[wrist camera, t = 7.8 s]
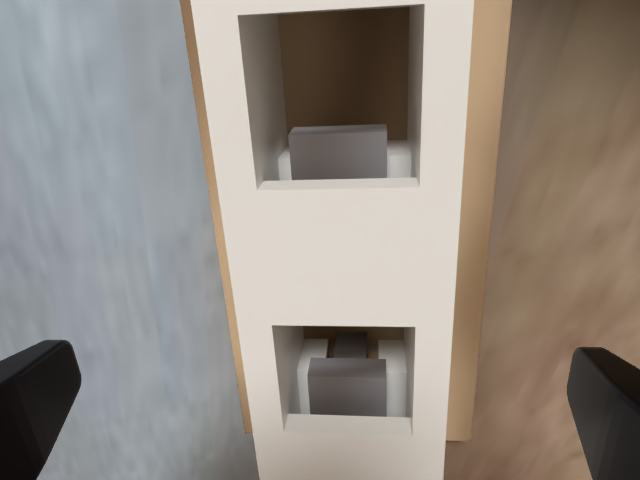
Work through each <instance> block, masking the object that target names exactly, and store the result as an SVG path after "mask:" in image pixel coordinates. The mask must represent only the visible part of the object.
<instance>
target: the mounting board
mask: <svg viewBox="0 0 640 480" xmlns="http://www.w3.org/2000/svg"><path fill="white" fill-rule="evenodd" d="M180 4H181V11H182V18H183V24H184V31H185V38H186V44H187V51H188V57H189V64H190V71H191V77H192V84H193V91H194V97H195V104H196V110H197V117H198V124H199V130H200V137H201V143H202V150H203V157H204V163H205V170H206V177H207V183H208V190H209V196H210V203H211V210H212V216H213V223H214V230H215V236H216V243H217V249H218V256H219V263H220V269H221V276H222V283H223V289H224V296H225V302H226V309H227V316H228V322H229V329H230V335H231V342H232V349H233V355H234V362H235V369H236V375H237V382H238V388H239V395H240V402H241V408H242V415H243V422H244V428H245V433H253V430H252V423H251V416H250V410H249V403H248V396H247V389H246V382H245V375H244V368H243V361H242V354H241V347H240V340H239V333H238V326H237V320H236V313H235V306H234V299H233V292H232V285H231V278H230V271H229V264H228V257H227V250H226V243H225V236H224V230H223V223H222V216H221V209H220V202H219V195H218V188H217V181H216V174H215V167H214V160H213V153H212V146H211V139H210V133H209V126H208V119H207V112H206V105H205V98H204V91H203V84H202V77H201V70H200V63H199V56H198V49H197V43H196V36H195V29H194V22H193V15H192V8H191V1H190V0H180ZM511 8H512V0H474V11H473V26H472V42H471V57H470V73H469V88H468V103H467V119H466V134H465V150H464V165H463V180H462V196H461V211H460V226H459V242H458V257H457V273H456V288H455V303H454V319H453V334H452V350H451V365H450V380H449V396H448V411H447V426H446V441H471V433H472V422H473V412H474V401H475V390H476V380H477V369H478V359H479V348H480V337H481V327H482V316H483V306H484V295H485V284H486V274H487V263H488V252H489V242H490V231H491V221H492V210H493V199H494V189H495V178H496V168H497V157H498V146H499V136H500V125H501V115H502V104H503V93H504V83H505V72H506V62H507V51H508V40H509V30H510V19H511ZM409 9H410V7H399V8H383V9H366V10H349V11H333V12H316V13H300V14H283V15H278V22H279V35H280V47H281V59H282V72H283V84H284V97H285V109H286V121H287V134H288V143H289V152H290V164H291V177H292V180H323V179H368V178H387V140H407V124H408V67H409ZM303 332H304V339H329V356H330V358H311V359H310V364H309V370H308V375H307V380H308V392H309V405H310V414H312V415H344V416H376V417H387V376H386V359H379V353H378V340H404V327H377V326H303Z"/></svg>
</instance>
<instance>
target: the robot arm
mask: <svg viewBox="0 0 640 480" xmlns="http://www.w3.org/2000/svg"><path fill="white" fill-rule="evenodd" d="M80 386H81V373H80V370H79V366H78V363H77V360H76V357H75V353H74V350H73V347H72V345H71V344H70V342H68V341H66V340H45V341H42V342H40V343H38V344H36V345H33V346H31V347H29V348H27V349H25V350H23V351H21V352H19V353H16V354H14V355H12V356H10V357H8V358H6V359H4V360H2V361H0V480H36V479H37V477H38V476H39V474H40V472H41V470H42V468H43V466H44V465H45V463H46V461H47V459H48V457H49V455H50V453H51V451H52V448H53V446H54V444H55V442H56V440H57V437H58V435H59V433H60V431H61V429H62V426H63V424H64V422H65V420H66V418H67V416H68V413H69V411H70V409H71V407H72V405H73V402H74V400H75V398H76V396H77V394H78V391H79V389H80ZM567 396H568V401H569V405H570V408H571V411H572V414H573V418H574V421H575V424H576V427H577V431H578V434H579V437H580V440H581V444H582V447H583V450H584V453H585V457H586V460H587V463H588V466H589V470H590V473H591V476H592V479H593V480H640V369H638V368H637V367H635V366H633V365H632V364H630V363H628V362H626V361H625V360H623V359H621V358H620V357H618V356H616V355H615V354H613V353H611V352H610V351H608V350H606V349H604V348H601V347H579V348H577V349H576V350H575V351H574V353H573V357H572V362H571V368H570V373H569V378H568V384H567Z"/></svg>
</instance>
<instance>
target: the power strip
mask: <svg viewBox="0 0 640 480" xmlns="http://www.w3.org/2000/svg"><path fill="white" fill-rule="evenodd" d="M190 1H191V8H192V15H193V22H194V29H195V36H196V43H197V49H198V56H199V63H200V70H201V77H202V84H203V91H204V98H205V105H206V112H207V119H208V126H209V133H210V139H211V146H212V153H213V160H214V167H215V174H216V181H217V188H218V195H219V202H220V209H221V216H222V223H223V230H224V236H225V243H226V250H227V257H228V264H229V271H230V278H231V285H232V292H233V299H234V306H235V313H236V320H237V326H238V333H239V340H240V347H241V354H242V361H243V368H244V375H245V382H246V389H247V396H248V403H249V410H250V416H251V423H252V430H253V437H254V444H255V451H256V458H257V465H258V472H259V479H260V480H443V473H444V457H445V442H446V426H447V411H448V396H449V380H450V365H451V350H452V334H453V319H454V303H455V288H456V273H457V257H458V242H459V226H460V211H461V196H462V180H463V165H464V150H465V134H466V119H467V103H468V88H469V73H470V57H471V42H472V26H473V11H474V0H190ZM399 7H410V9H409V67H408V124H407V140H387V178H368V179H323V180H292V177H291V164H290V152H289V143H288V134H287V121H286V109H285V97H284V84H283V72H282V59H281V47H280V35H279V22H278V15H283V14H300V13H316V12H333V11H349V10H366V9H383V8H399ZM303 326H377V327H404V340H378V353H379V359H386V376H387V417H376V416H344V415H312V414H310V405H309V392H308V380H307V375H308V370H309V364H310V359H311V358H330V356H329V339H304V332H303Z"/></svg>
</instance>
